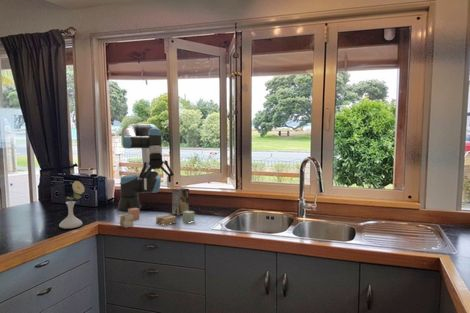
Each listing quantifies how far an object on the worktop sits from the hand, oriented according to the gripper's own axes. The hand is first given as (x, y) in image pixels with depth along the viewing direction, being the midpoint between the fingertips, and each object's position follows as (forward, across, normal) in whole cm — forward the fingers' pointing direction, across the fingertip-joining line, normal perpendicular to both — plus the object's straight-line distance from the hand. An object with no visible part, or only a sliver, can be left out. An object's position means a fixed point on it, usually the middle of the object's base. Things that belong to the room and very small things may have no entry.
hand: (156, 188), depth 192 cm
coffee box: (+15, +10, +20) cm, 27 cm away
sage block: (+21, +17, +2) cm, 27 cm away
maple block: (+20, -15, -9) cm, 27 cm away
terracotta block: (+16, -16, +6) cm, 24 cm away
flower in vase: (+19, -43, -13) cm, 49 cm away
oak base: (+21, +5, -2) cm, 21 cm away
